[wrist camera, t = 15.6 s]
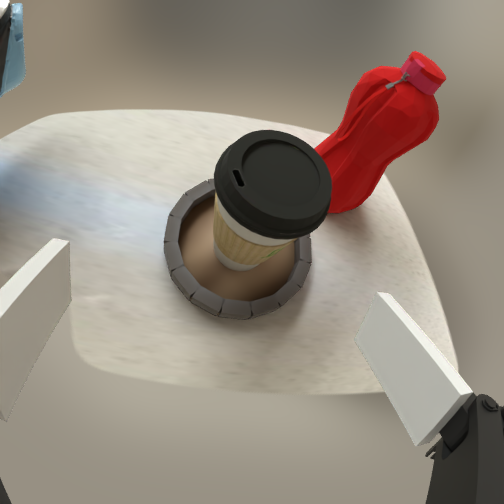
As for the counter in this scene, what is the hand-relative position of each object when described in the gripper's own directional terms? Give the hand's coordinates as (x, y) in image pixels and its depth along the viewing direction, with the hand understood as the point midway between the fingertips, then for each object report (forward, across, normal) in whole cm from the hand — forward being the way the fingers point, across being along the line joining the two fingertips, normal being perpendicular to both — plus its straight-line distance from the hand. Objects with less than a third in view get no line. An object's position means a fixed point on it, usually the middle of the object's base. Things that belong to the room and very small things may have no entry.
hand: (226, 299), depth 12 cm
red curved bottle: (+32, +16, +1) cm, 36 cm away
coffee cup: (+23, +4, -7) cm, 25 cm away
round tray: (+24, +4, -7) cm, 25 cm away
